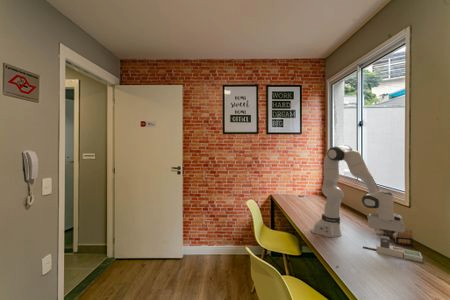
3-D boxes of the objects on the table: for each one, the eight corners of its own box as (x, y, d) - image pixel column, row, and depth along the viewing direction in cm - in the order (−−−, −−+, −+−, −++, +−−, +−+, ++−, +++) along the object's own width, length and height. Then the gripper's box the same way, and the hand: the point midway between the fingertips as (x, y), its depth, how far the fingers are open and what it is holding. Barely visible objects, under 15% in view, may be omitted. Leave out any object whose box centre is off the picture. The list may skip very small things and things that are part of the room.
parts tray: (404, 258, 146) (404, 254, 146) (402, 252, 154) (402, 248, 154) (422, 262, 142) (422, 258, 142) (419, 256, 149) (419, 252, 149)
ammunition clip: (395, 243, 167) (396, 227, 167) (394, 242, 169) (394, 226, 169) (413, 245, 165) (413, 229, 164) (411, 244, 166) (412, 228, 166)
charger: (380, 251, 154) (380, 238, 154) (380, 248, 158) (380, 235, 158) (389, 253, 151) (389, 239, 151) (388, 250, 155) (389, 237, 155)
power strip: (362, 249, 159) (362, 242, 159) (362, 246, 164) (363, 239, 164) (402, 257, 147) (403, 250, 147) (401, 254, 152) (401, 247, 152)
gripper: (367, 214, 156) (367, 234, 157) (405, 219, 145) (405, 240, 146) (367, 212, 162) (367, 231, 162) (404, 216, 151) (404, 236, 151)
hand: (385, 235), depth 154 cm, fingers open, 8 cm apart
